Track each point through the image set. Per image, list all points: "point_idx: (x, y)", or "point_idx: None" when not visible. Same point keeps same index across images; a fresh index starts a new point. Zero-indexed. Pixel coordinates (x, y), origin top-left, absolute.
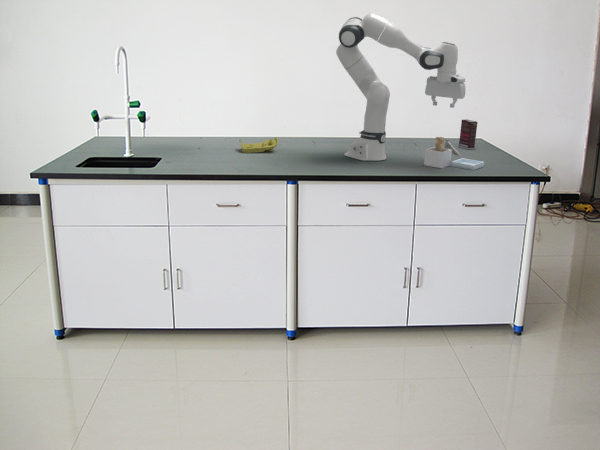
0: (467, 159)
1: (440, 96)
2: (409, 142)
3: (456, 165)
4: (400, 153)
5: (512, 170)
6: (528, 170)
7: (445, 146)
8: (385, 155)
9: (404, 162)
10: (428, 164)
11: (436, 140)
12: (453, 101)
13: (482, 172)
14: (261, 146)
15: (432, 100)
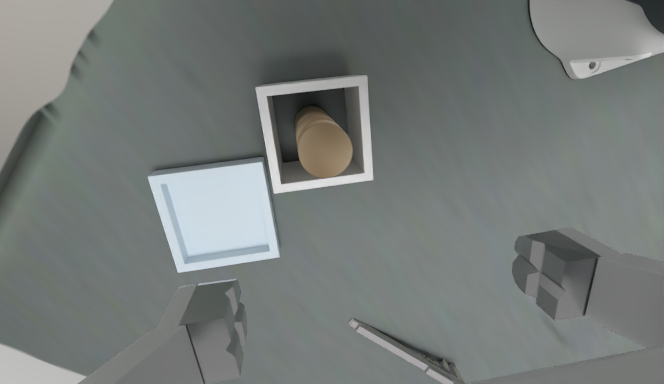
0: (250, 254)
1: (563, 366)
2: (584, 339)
3: (236, 162)
4: (533, 176)
5: (78, 300)
6: (50, 345)
7: (452, 369)
8: (547, 20)
9: (438, 42)
10: (328, 77)
11: (331, 122)
12: (110, 378)
13: (108, 175)
14: None
15: (658, 261)
